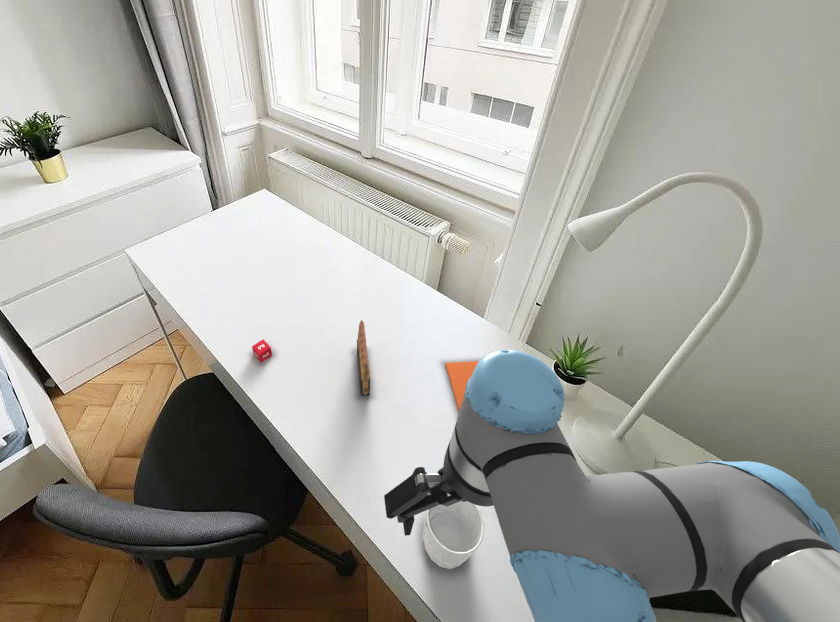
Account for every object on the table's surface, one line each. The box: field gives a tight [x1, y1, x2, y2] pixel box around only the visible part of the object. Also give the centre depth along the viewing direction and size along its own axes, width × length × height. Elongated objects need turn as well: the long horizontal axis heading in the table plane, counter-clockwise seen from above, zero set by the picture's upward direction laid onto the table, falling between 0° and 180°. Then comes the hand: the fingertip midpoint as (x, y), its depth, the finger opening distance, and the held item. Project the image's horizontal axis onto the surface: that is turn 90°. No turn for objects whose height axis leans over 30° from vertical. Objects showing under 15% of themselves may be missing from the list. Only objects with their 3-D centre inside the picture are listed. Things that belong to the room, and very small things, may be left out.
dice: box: [251, 339, 273, 364], centre depth 90 cm, size 3×3×3 cm
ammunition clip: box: [356, 319, 371, 397], centre depth 83 cm, size 11×2×12 cm, turn 2°
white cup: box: [422, 493, 485, 570], centre depth 60 cm, size 8×8×10 cm
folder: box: [444, 360, 480, 412], centre depth 82 cm, size 16×14×1 cm
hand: (453, 521), depth 58 cm, fingers open, 13 cm apart
